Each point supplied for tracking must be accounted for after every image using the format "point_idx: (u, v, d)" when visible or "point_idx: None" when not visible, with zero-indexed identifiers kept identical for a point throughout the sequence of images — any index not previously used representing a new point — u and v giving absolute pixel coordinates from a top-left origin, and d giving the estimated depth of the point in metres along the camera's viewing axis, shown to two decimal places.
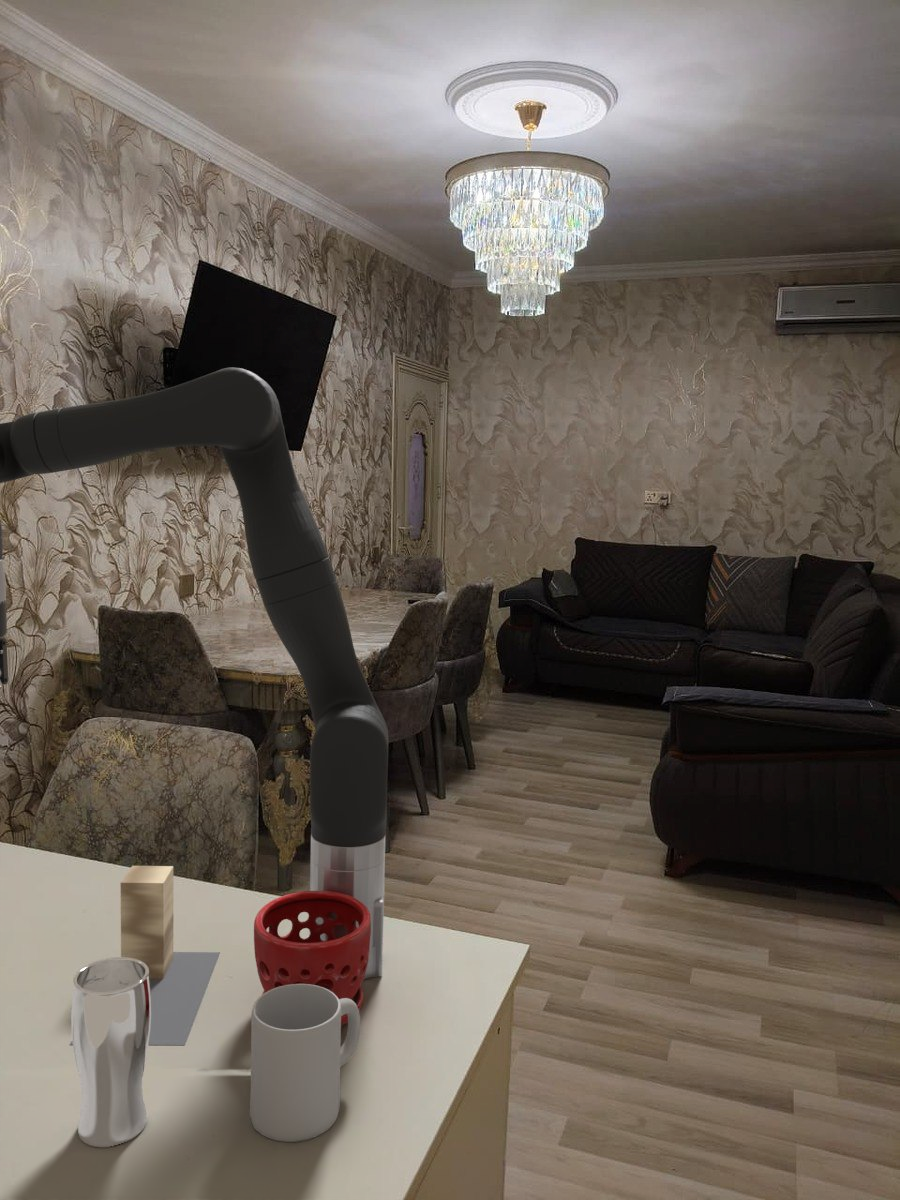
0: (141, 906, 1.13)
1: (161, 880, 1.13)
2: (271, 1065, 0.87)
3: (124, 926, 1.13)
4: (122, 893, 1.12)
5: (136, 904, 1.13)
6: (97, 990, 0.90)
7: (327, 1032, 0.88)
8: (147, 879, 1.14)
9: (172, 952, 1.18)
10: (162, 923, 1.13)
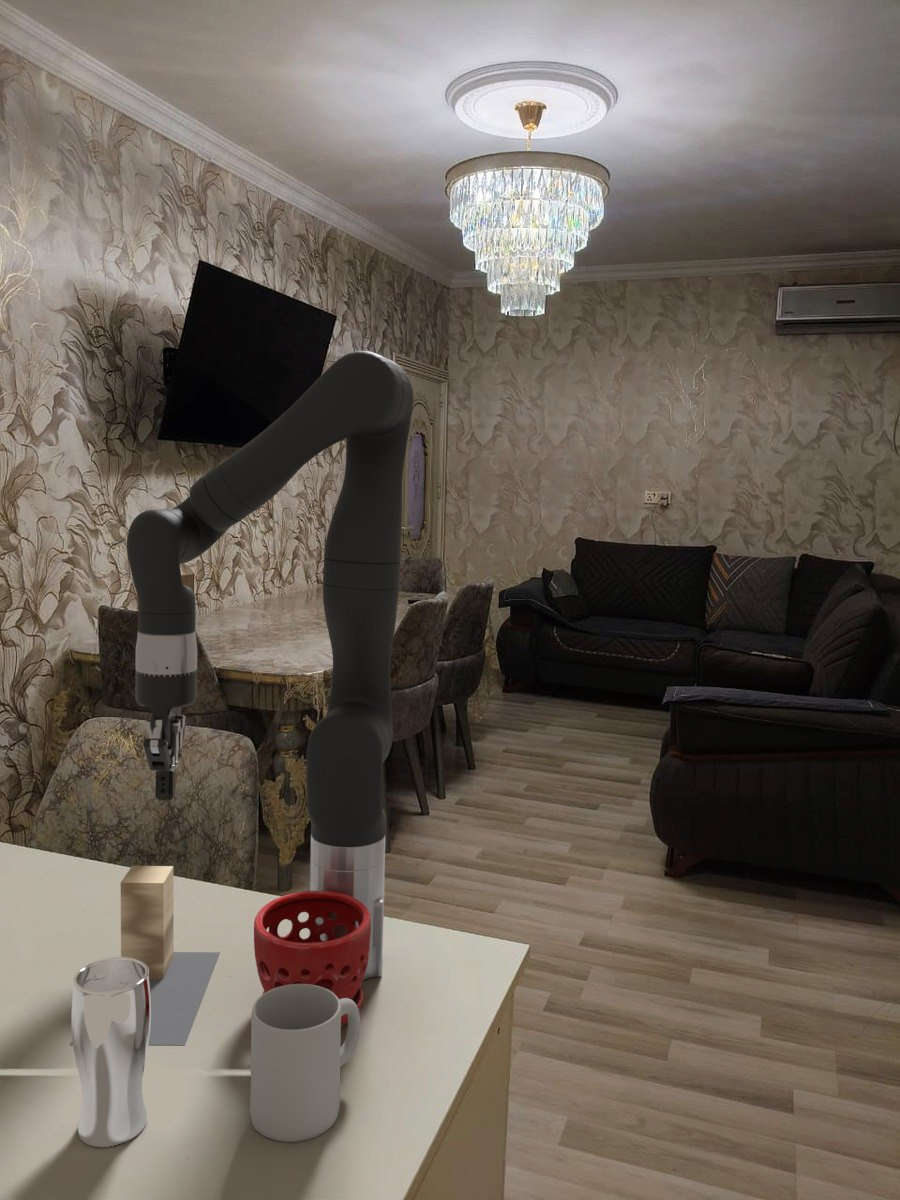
0: (141, 906, 1.13)
1: (161, 880, 1.13)
2: (271, 1065, 0.87)
3: (124, 926, 1.13)
4: (122, 893, 1.12)
5: (136, 904, 1.13)
6: (97, 990, 0.90)
7: (327, 1032, 0.88)
8: (147, 879, 1.14)
9: (172, 952, 1.18)
10: (162, 923, 1.13)
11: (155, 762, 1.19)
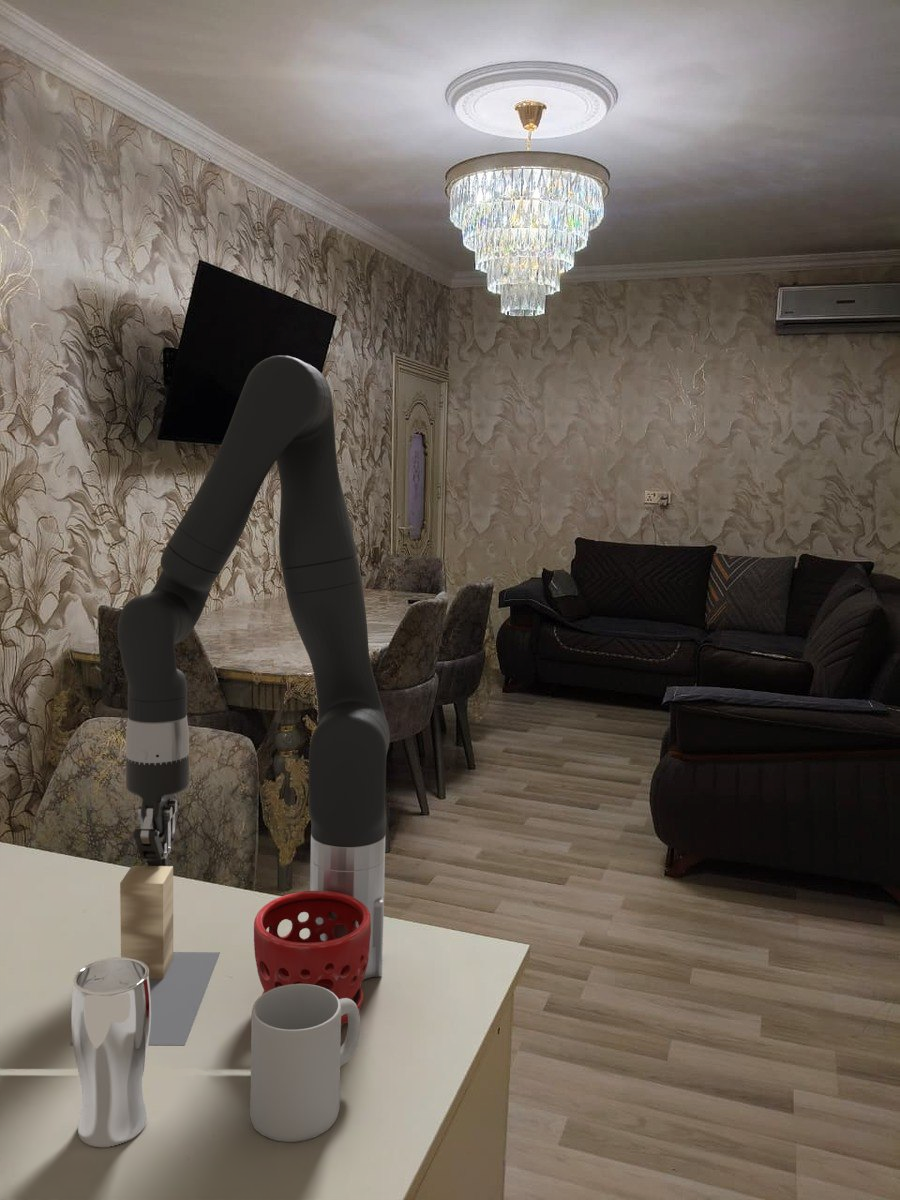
0: (141, 907, 1.13)
1: (161, 881, 1.13)
2: (271, 1065, 0.87)
3: (124, 926, 1.13)
4: (122, 893, 1.12)
5: (136, 905, 1.13)
6: (97, 990, 0.90)
7: (327, 1032, 0.88)
8: (147, 879, 1.13)
9: (172, 952, 1.18)
10: (162, 923, 1.13)
11: (146, 851, 1.17)
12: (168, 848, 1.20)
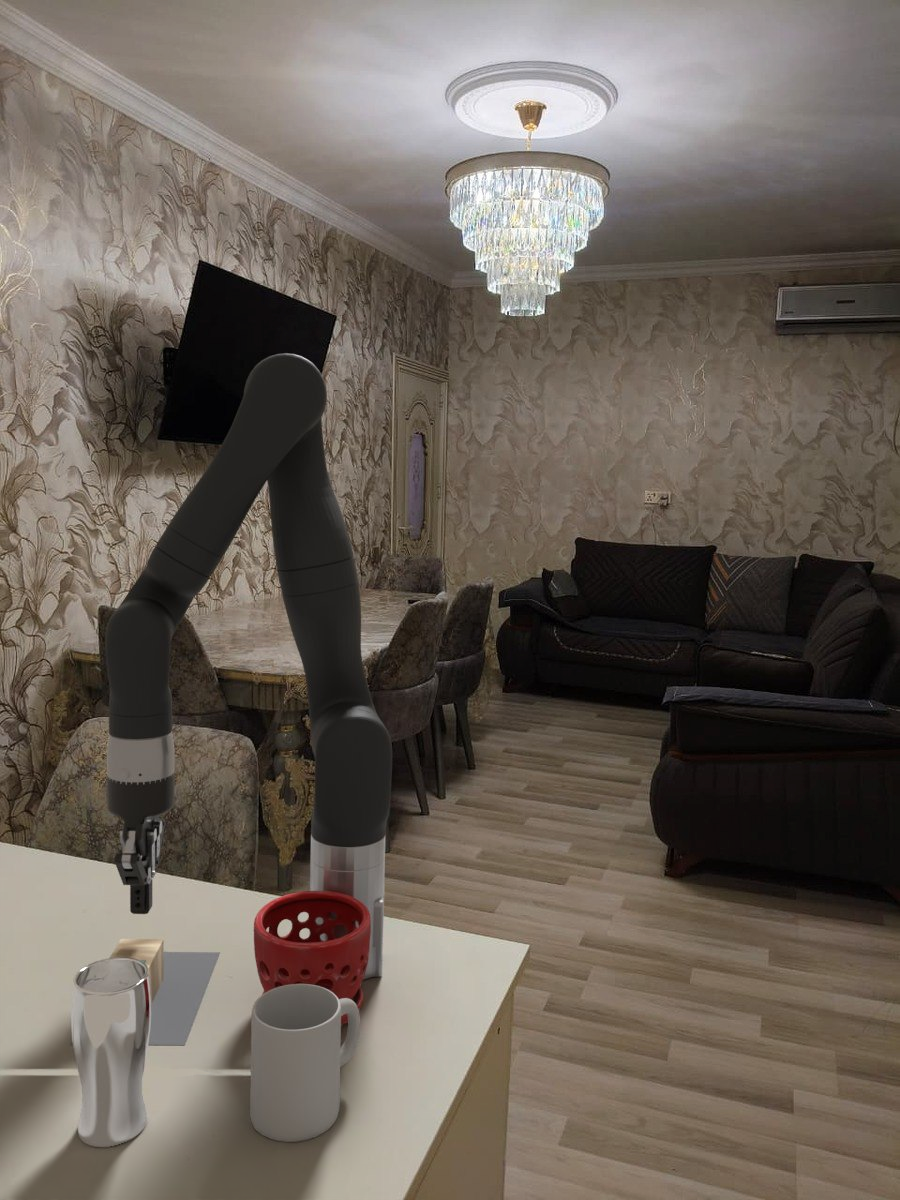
0: None
1: None
2: (271, 1065, 0.87)
3: None
4: None
5: None
6: (97, 990, 0.90)
7: (327, 1032, 0.88)
8: None
9: (161, 947, 1.12)
10: None
11: (129, 876, 1.09)
12: (152, 872, 1.13)
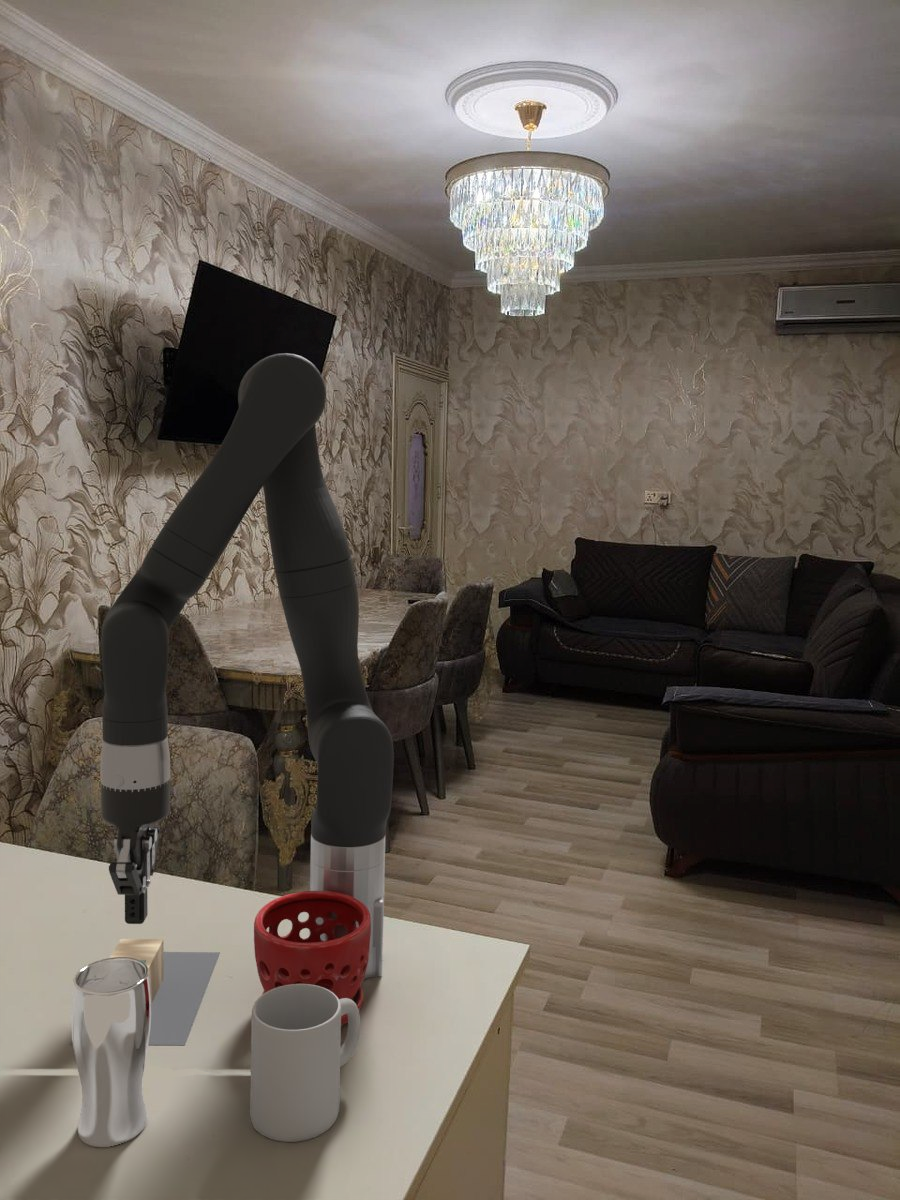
0: None
1: None
2: (271, 1065, 0.87)
3: None
4: None
5: None
6: (97, 990, 0.90)
7: (327, 1032, 0.88)
8: None
9: (161, 947, 1.12)
10: None
11: None
12: (147, 881, 1.10)
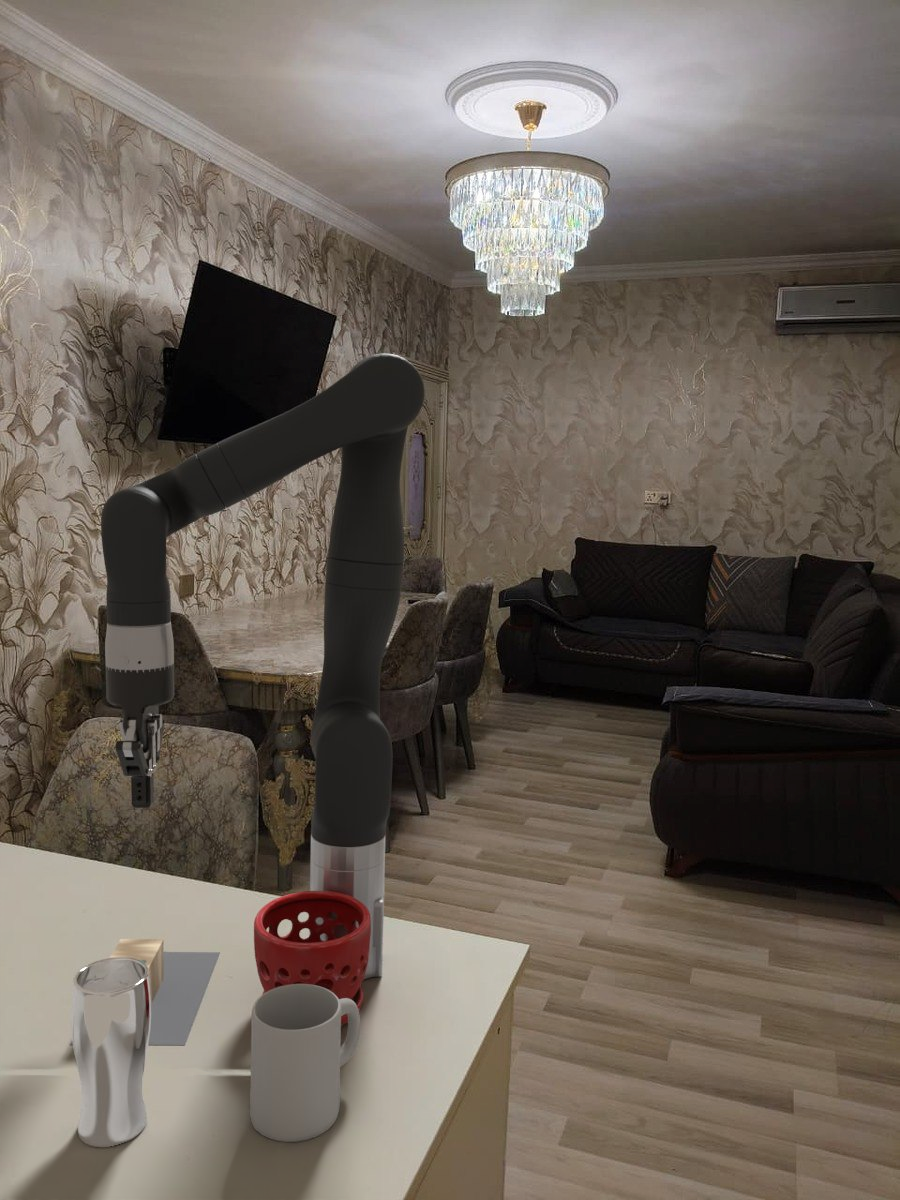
0: None
1: None
2: (271, 1065, 0.87)
3: None
4: None
5: None
6: (97, 990, 0.90)
7: (327, 1032, 0.88)
8: None
9: (161, 947, 1.12)
10: None
11: (130, 767, 1.08)
12: (153, 766, 1.12)
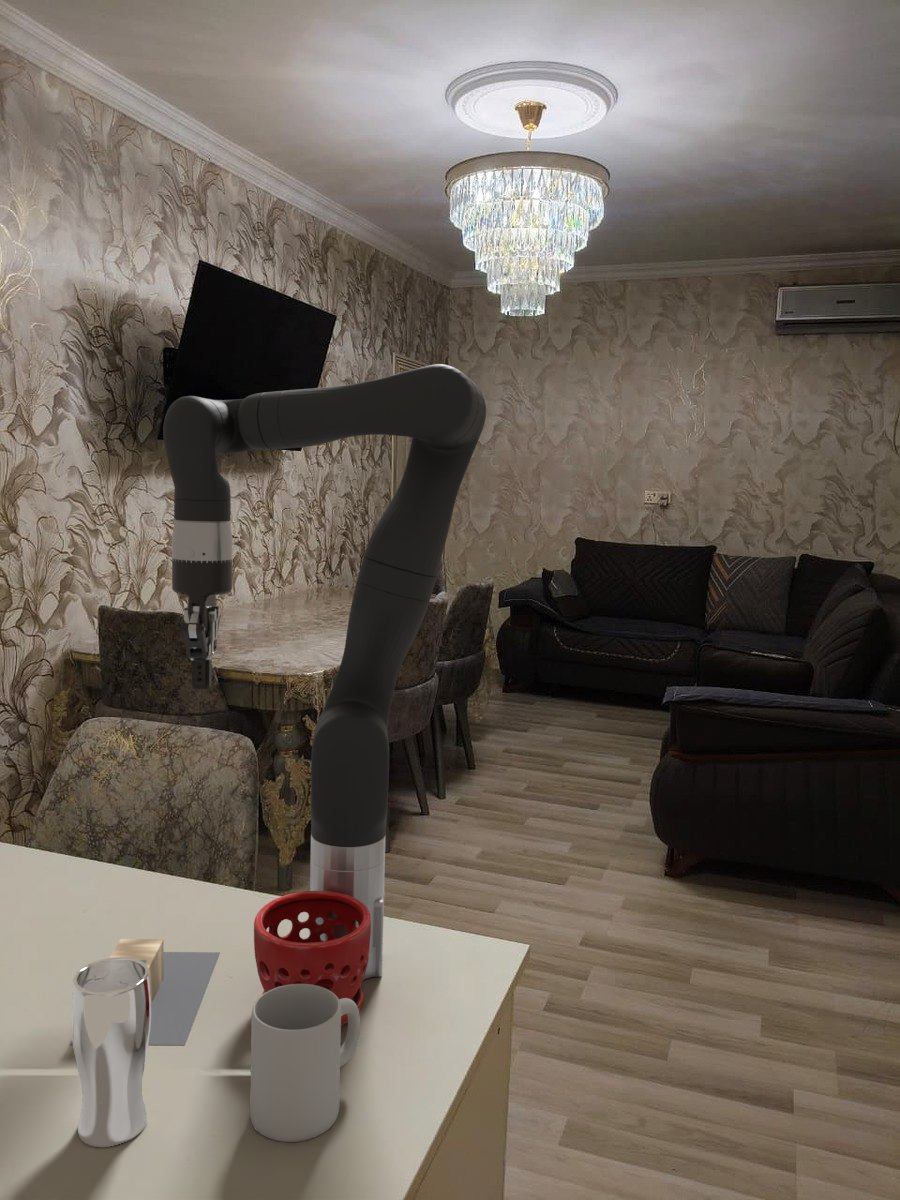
0: None
1: None
2: (271, 1065, 0.87)
3: None
4: None
5: None
6: (97, 990, 0.90)
7: (327, 1032, 0.88)
8: None
9: (161, 947, 1.12)
10: None
11: (192, 649, 1.21)
12: (212, 652, 1.24)
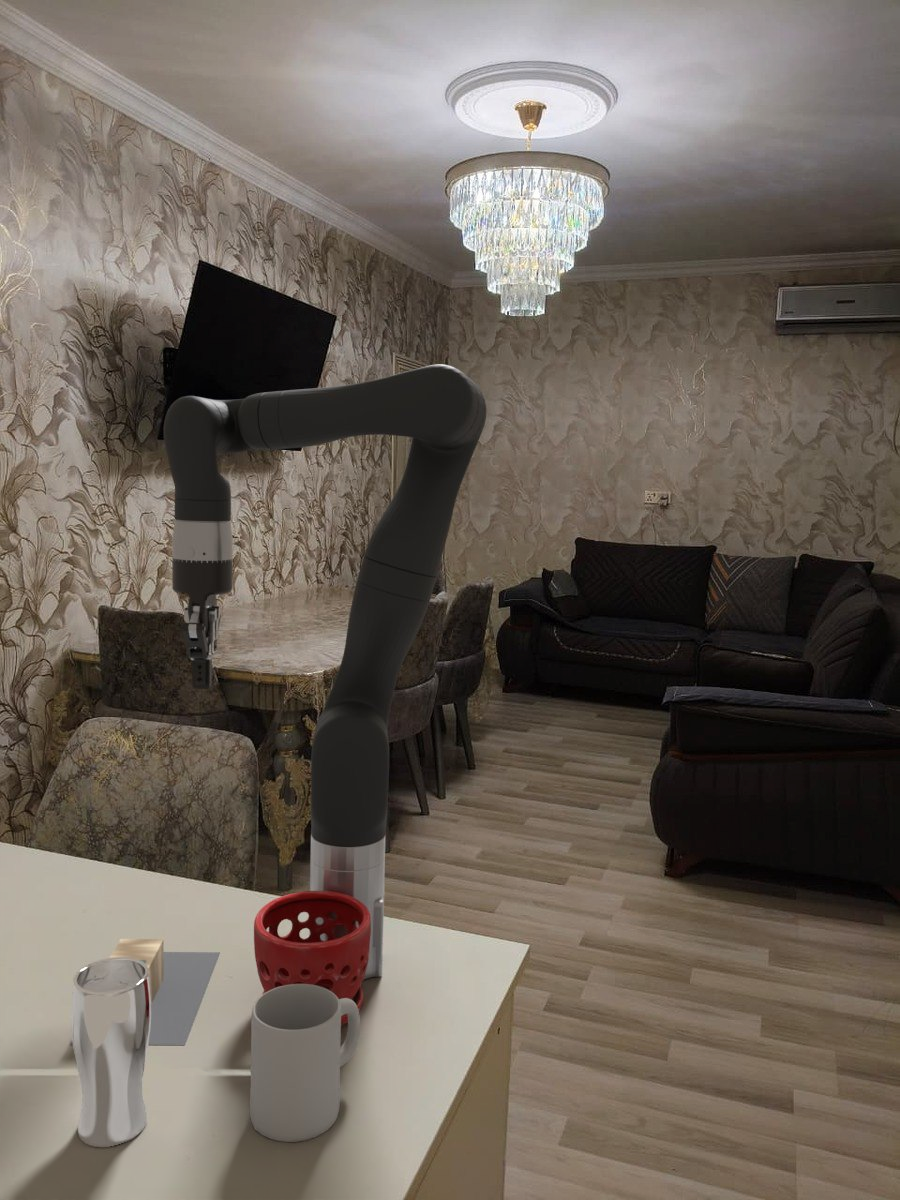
0: None
1: None
2: (271, 1065, 0.87)
3: None
4: None
5: None
6: (97, 990, 0.90)
7: (327, 1032, 0.88)
8: None
9: (161, 947, 1.12)
10: None
11: (192, 649, 1.21)
12: (212, 652, 1.24)
